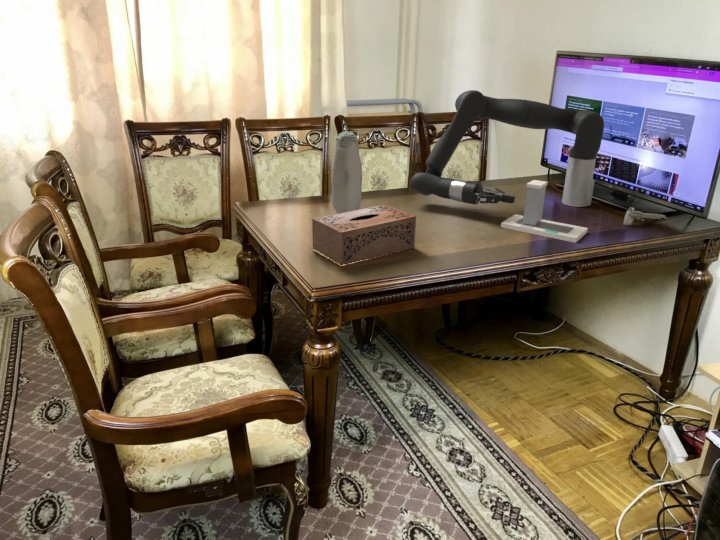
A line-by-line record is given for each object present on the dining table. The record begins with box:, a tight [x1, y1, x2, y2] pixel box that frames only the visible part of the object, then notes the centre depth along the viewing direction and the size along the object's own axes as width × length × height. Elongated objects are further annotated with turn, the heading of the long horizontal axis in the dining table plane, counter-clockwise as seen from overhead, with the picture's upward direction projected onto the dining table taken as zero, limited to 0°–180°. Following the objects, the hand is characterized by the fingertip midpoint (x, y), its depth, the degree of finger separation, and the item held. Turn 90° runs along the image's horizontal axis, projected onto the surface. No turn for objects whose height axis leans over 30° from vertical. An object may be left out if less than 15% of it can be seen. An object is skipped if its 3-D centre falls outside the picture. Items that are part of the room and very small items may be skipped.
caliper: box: [623, 206, 668, 226], centre depth 196 cm, size 20×1×6 cm, turn 117°
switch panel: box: [500, 213, 589, 244], centre depth 187 cm, size 24×12×2 cm, turn 55°
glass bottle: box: [330, 130, 363, 214], centre depth 194 cm, size 10×10×28 cm
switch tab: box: [522, 179, 548, 226], centre depth 186 cm, size 4×6×13 cm
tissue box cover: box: [311, 204, 417, 265], centre depth 167 cm, size 26×14×10 cm, turn 126°
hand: (514, 200), depth 190 cm, fingers closed
